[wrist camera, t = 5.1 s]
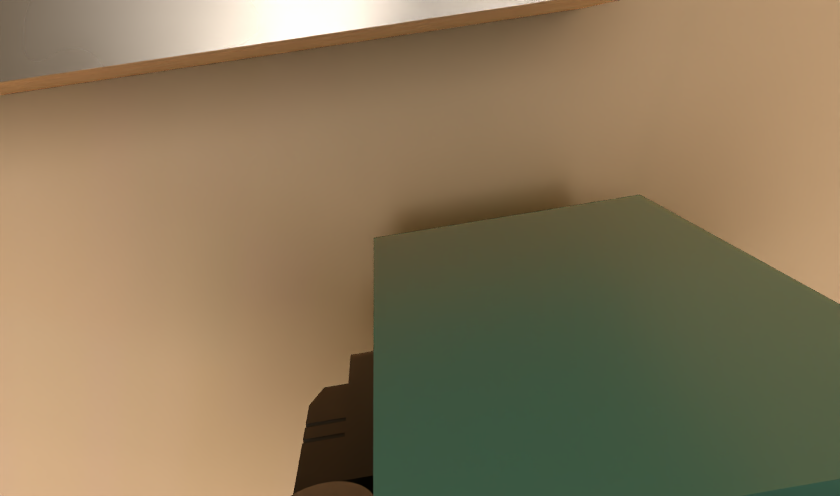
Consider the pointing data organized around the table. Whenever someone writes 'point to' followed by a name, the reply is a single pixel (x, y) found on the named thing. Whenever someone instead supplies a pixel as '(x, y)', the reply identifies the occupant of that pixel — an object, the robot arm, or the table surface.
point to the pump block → (598, 361)
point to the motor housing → (211, 31)
